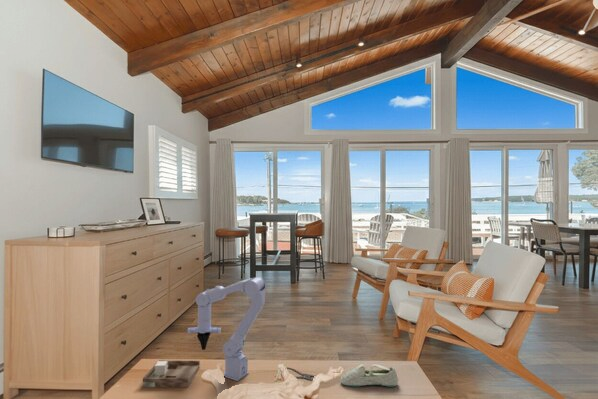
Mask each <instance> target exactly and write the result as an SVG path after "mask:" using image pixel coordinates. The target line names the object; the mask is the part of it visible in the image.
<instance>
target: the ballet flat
mask: <svg viewBox="0 0 598 399" xmlns="http://www.w3.org/2000/svg"><path fill="white" fill-rule="evenodd" d="M374 367H375V368H378V369H377V370H376V369H374V370H373V368H374ZM339 382H340V384H341V385H342V386H345V385H346V387H351V386H352V387H353V388H356V387H358V388H359V387H364V386H374V385H379V386H383V387H387V388H388V387H390V388H395V387H396V386H397V385H398V383H399V377H398V376H397V371H396V368H395V367H394V366H390V367H386V366H383V365H380V364H374V363H373V364H372V365H371V367H370V370H366V368H365V365H364V364H363V363H362V364H359V365H358V366H356V367H355V368H352V369H349V370H348V371H346V372H345V373H343V374H342V375H341V377H340V380H339ZM394 386H395V387H394Z"/></svg>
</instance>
